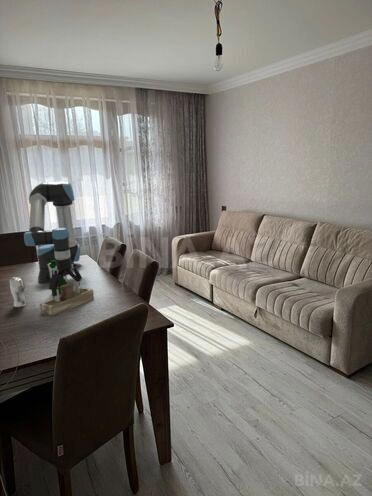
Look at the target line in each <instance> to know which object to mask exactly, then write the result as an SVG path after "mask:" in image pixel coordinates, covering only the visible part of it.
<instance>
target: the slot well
mask: <svg viewBox="0 0 372 496" xmlns="http://www.w3.org/2000/svg"><path fill="white" fill-rule="evenodd" d="M79 290H80V293H75V289H73V292H74V297H72V298H70V299H68V300H65V301H63V302H62V298H61V295H59V299H60V302H57V301H55V297H54V298H51V299H49V300H45V301H44V302H42V303H39V308H40V313H41V315H46V316H49V317H56V316H59V315H61V314H63V313H65V312H67V311H69V310H71V309H73V308H75V307H78V306H79V305H82V304H84V303H87V302H88V301H90V299H91V300H92V299H95V296H94V289H91V288H86V287H81V286H79Z"/></svg>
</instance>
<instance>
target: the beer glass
mask: <svg viewBox="0 0 372 496" xmlns="http://www.w3.org/2000/svg"><path fill="white" fill-rule="evenodd" d="M25 286H26V285H25V281H24V278H23V276H15V277H12V278H9V289H10V292H11V295H12V298H13V307H14V308H23V307H25V306H26V305H27V300H26V298H25V293H26V287H25Z"/></svg>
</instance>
